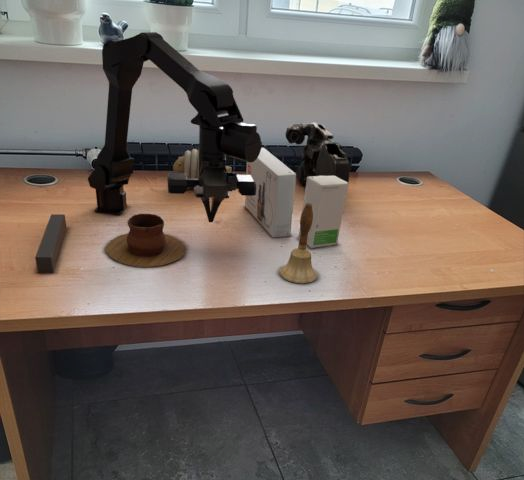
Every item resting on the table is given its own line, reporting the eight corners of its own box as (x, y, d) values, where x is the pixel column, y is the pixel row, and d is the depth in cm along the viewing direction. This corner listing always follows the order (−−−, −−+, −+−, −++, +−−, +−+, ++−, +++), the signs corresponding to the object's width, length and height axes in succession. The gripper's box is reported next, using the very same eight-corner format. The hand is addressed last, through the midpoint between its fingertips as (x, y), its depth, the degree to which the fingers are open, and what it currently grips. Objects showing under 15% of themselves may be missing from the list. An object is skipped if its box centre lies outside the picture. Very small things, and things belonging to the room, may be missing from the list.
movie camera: (274, 171, 168) (283, 115, 157) (325, 175, 172) (337, 120, 162) (299, 211, 145) (311, 148, 134) (357, 214, 149) (374, 154, 138)
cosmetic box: (310, 249, 125) (320, 185, 115) (296, 238, 129) (305, 176, 120) (338, 244, 128) (350, 182, 119) (324, 234, 133) (334, 173, 123)
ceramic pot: (202, 253, 118) (202, 224, 114) (137, 275, 107) (135, 244, 103) (153, 226, 127) (152, 199, 123) (90, 245, 116) (86, 215, 112)
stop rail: (38, 272, 104) (35, 257, 102) (53, 228, 121) (51, 214, 119) (53, 272, 105) (50, 257, 103) (66, 228, 122) (64, 214, 120)
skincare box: (242, 206, 143) (246, 147, 134) (260, 205, 145) (265, 147, 135) (271, 238, 128) (277, 174, 118) (291, 236, 130) (299, 173, 120)
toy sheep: (173, 180, 155) (172, 142, 148) (228, 182, 158) (230, 145, 151) (173, 192, 147) (173, 153, 140) (232, 194, 150) (234, 155, 143)
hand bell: (277, 265, 116) (286, 196, 107) (313, 266, 117) (324, 198, 108) (281, 283, 110) (290, 211, 100) (319, 284, 111) (332, 213, 101)
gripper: (168, 160, 98) (169, 236, 108) (263, 164, 102) (257, 237, 111) (166, 144, 107) (168, 215, 116) (254, 148, 111) (249, 217, 120)
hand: (210, 221), depth 116 cm, fingers closed
